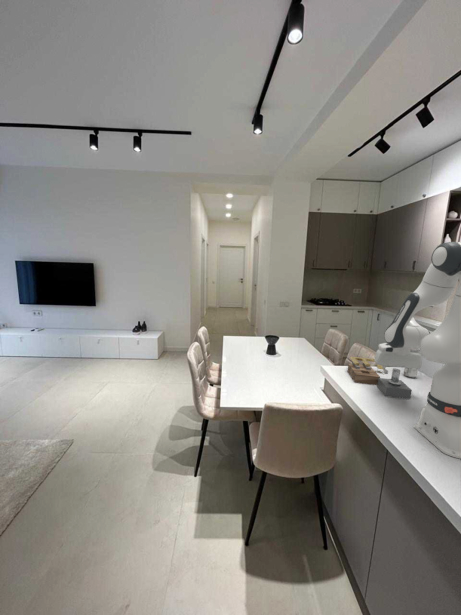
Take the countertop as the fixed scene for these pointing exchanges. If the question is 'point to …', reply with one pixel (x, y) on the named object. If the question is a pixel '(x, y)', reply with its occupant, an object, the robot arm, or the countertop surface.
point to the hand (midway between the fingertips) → (395, 374)
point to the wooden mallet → (364, 361)
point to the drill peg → (395, 377)
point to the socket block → (363, 374)
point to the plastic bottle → (414, 371)
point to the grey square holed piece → (394, 389)
